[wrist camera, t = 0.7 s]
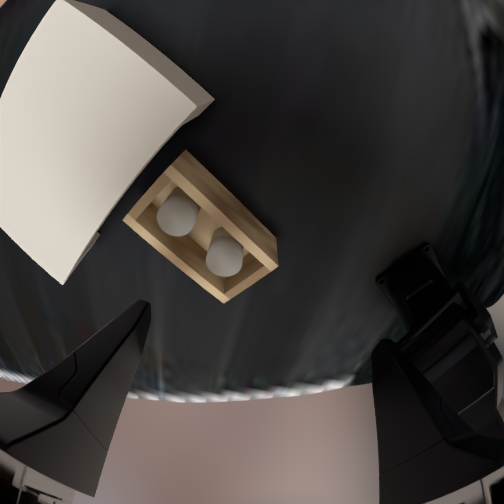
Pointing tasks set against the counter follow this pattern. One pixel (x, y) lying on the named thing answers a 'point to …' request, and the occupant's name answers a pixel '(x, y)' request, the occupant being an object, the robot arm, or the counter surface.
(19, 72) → the shelf
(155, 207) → the brown wooden box
